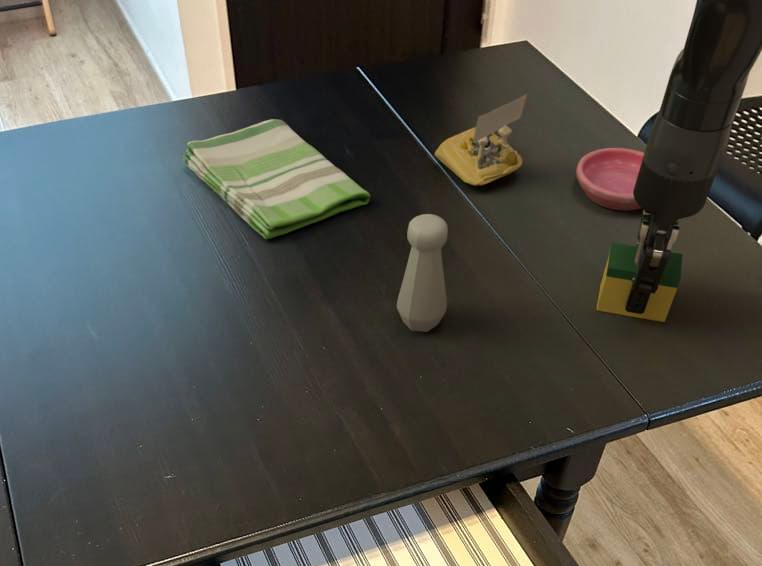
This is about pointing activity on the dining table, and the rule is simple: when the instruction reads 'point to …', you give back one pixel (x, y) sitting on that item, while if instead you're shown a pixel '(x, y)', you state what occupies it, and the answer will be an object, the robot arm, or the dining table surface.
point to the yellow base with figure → (484, 147)
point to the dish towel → (273, 178)
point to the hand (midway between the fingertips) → (636, 294)
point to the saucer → (610, 177)
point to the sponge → (620, 282)
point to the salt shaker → (424, 274)
